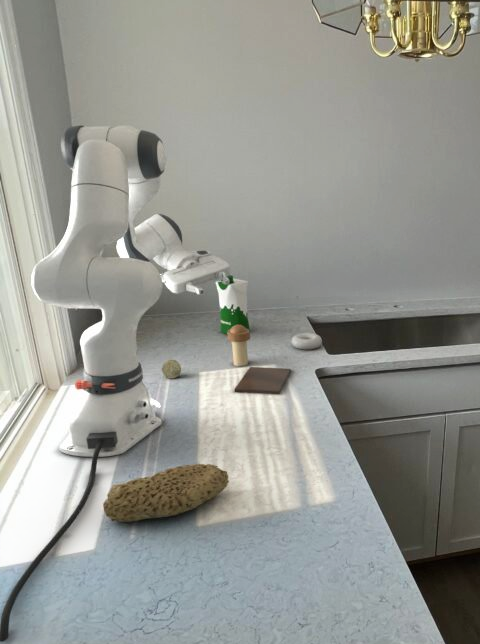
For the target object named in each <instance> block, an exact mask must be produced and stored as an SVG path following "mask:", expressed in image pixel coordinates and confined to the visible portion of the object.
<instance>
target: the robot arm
mask: <svg viewBox="0 0 480 644" xmlns="http://www.w3.org/2000/svg"><path fill="white" fill-rule="evenodd" d="M60 151H61V155H62V158H63V161H64V163H65V165H66V166H67V167H68V168H69V169H70V170H71V171H72V173H71V184H70V185H71V187H70V207H69V218H68V224H67V228H66V231H65V233H64V235H63V237H62V238H61V240H60V242H59V243H58V245H57V246H56V247H55V249H54V250H53V251H52V252H51V253H50V254H48V255H47V256H46V257H44V258H43V259H41V260H40V261H38V262H37V263H36V264H35V266H34V267H33V270H32V273H31V277H30V278H31V279H30V280H31V281H30V283H31V287H32V290H33V292H34V295H35V296H36V297H37V298H38V300H39V301H41V303H43V304H45V305H48V306H54V307H58V308H64V309H77V310H78V309H80V310H81V309H83V310H89V309H90V310H101V314H102V320H101V321H100V320H99V321H98V322H96V323H94V324H92V325H91V326H89V327H87V329H85V330H84V331H83V332H82V334H81V336H80V339H79V345H80V350H81V357H82V362H83V366H84V369H83V373H82V378H81V379H82V380H80V379H77V380H76V381H75V383H74V387H75V389H76V390H82V393H81V395H80V397H79V399H78V401H77V404H76V406H75V408H74V410H73V413H72V415H71V416H70V420H69V433H68V435H67V436H66V437H65V438H64V440H63V442H61V444H60V446H59V450H60V452H62V453H64V454H66V455H69V456H74V457H75V456H76V457H87V458H89V457H90V458H91V465H90V470H89V471H90V472H89V476H88V481H87V484H86V487H85V490H84V492H83V495H82V497H81V498H80V501H79V503H78V504H77V506H76V508H75V509H74V511H73V512H72V513H71V515H70V517H69V518H67V520H66V521H65V522H64V524H63V525H62V526H61V527H60V528H59V530H58V531H57V532H56V533H55V535H54V536H53V537H52V538H51V540H50V541H49V542H48V543H47V544H46V545H45V546H44V547H43V548H42V550H41V551H40V552H39V553H38V554H37V555H36V557H35V558H34V560H32V562H31V563H30V564H29V566H27V567H28V568H27V569H26V570H25V571H24V573H23V574H22V576H20V578H19V580H18V581H17V583H16V584H15V586H14V587H13V589H12V591H11V592H10V594H9V597H8V598H7V600H6V603H5V604H4V607H3V610H2V613H1V616H0V643H4V642H6V641H7V639H8V638H9V629H10V619H11V612H12V610H13V607H14V605H15V602H16V600H17V598H18V596H19V594H20V592H21V591H22V589H23V587H24V585H25V584H26V582H27V581H28V579H29V578H30V577H31V576H32V574H33V573H34V572H35V570H36V569H37V568H38V566H39V565H40V563H41V562H42V561H43V559H44V558H46V556H47V555H48V554H49V552H50V551H51V550H52V549H53V548H54V547H55V546H56V544H57V543H58V542H59V540H60V539H61V538H62V537H63V536H64V534H66V532H67V531H68V529H69V528H70V527H71V526H72V525H73V523H74V522H75V520H76V519H77V518H78V517H79V515H80V513H81V512H82V510H83V508H84V507H85V505H86V503H87V501H88V500H89V497H90V494H91V492H92V490H93V487H94V483H95V478H96V473H97V466H98V460H99V458H101V457H102V458H103V457H104V458H105V457H112V456H113V457H114V456H119V455H122V454H124V453H126V452H127V451H128V450H130V449H131V448H132V447H134V446H135V445H136V444H138V443H139V442H140V441H141V440H143V439H144V438H145V437H146V436H148V435H149V434H151V433H152V432H153V431H155V430H156V429H157V428H159V427H160V426H162V419H161V418H160V417H158V416H157V415H156V411H155V407H157V408H161V403H160V402H159V401H157V400H155V399H153V398H152V394H151V391H150V390H149V388H147V386H146V385H145V383H144V382H143V379H144V374H143V373H144V372H143V368H142V364H141V363H140V362H139V355H138V343H137V332H138V331H137V330H138V327H139V323H140V321H141V319H142V317H143V316H144V314H145V313H147V311H149V309H150V308H152V307H153V306H155V304H156V303H157V302H158V301H159V299H160V297H161V295H162V292H163V285H165V287H166V288H167V289H168V290H169V291H170V292H171V293H173V294H177V295H179V294H181V293H184V292H189V293H195V294H197V295H202V294H204V289H203V287H201V286H204V285H207V284H209V283H213V282H217V281H219V280H220V281H221V280H222V284H224V285H227V284H229V279H228V278H227V276H229V275H230V274H231V266H230V263H228V262H227V261H225V260H224V259H223V258H221V257H219V256H217V255H213V254H212V252H211V251H210V250H209V249H207V250H206V249H205V250H188V249H186V248H184V247H183V234H182V230H181V229H180V226H179V225H178V223H176V221H174V220H173V219H172V218H171V217H170V216H168V215H165V214H162V213H155V214H154V215H152V216H150V217H149V218H147V219H146V220H144V221H142V222H141V223H140V224H138V225H137V226H135V222H134V221H135V218H136V216H137V215H138V214H139V212H140V211H141V210H142V209H143V208H144V207H145V206H146V205H147V204H148V203H149V202H150V201H151V200H152V199H153V198H155V196H156V194H157V193H158V192H159V189H160V186H161V175H163V173H164V172H165V168H166V165H167V152H166V149H165V146H164V143H163V140H162V139H161V138H160V137H159V136H158V135H157V134H156V133H154V132H151V131H149V130H148V131H147V130H143V129H141V130H139V129H138V128H136V127H134V126H131V125H125V124H124V125H123V124H122V125H117V126H115V127H114V126H112V125H109V126H108V125H93V126H92V125H91V126H84V125H82V124H81V125H73V126H70V127H67V128H66V129H65V130H64V132H63V133H62V134H61V137H60ZM113 243H115V250H116V252H117V254H118V257H116V256H114V257H113V256H102V255H103V254H104V252H105V250H106V249H107V248H108V247H109V246H110V245H112V244H113ZM151 261H154V263H156V264H157V265H158V266H160V267H161V268H163V269H165V270H166V271H165V272H160V271H159V270H158V268H157V267H156V266H155V264H153V263H152V262H151ZM154 406H155V407H154Z"/></svg>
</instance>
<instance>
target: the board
mask: <svg viewBox="0 0 480 644" xmlns="http://www.w3.org/2000/svg"><path fill="white" fill-rule="evenodd" d="M291 372H292V369H291V368H284V367H283V368H281V367H260V366H259V367H258V366H250V367H249V368H248V369H247V371H246V372H245V374H244V375H243V377H242V378H241V379H240V381H239V382H238V384H237V385H236V386H235V388H234V393H249V394H271V395H280V393H281V391H282V389H283V387H284V385H285V384H286V381H287V379H288V378H289V376H290V373H291Z"/></svg>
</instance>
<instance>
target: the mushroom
mask: <svg viewBox="0 0 480 644" xmlns="http://www.w3.org/2000/svg"><path fill="white" fill-rule="evenodd" d="M249 329H250V328H249ZM249 329H247V328H245V327H244V326H242V325H235V326H233V327H232V328H231V329H229V330H228V331H227V334H226V335H227V340H228V341H229V342H231V350H232V363H233V366H234V367H235V366H236V367H245V366H247V365H248V364H249V361H248V360H249V358H248V343H247V341H249V340H251V329H250V330H249Z"/></svg>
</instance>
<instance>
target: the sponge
mask: <svg viewBox="0 0 480 644" xmlns="http://www.w3.org/2000/svg"><path fill="white" fill-rule="evenodd" d="M229 483H230V481H229V475H228V471H227V470H223V469H221V468H219V467H218V465H215V464H211V463H206V464H204V463H196V464H186V465H179V466H175V467H169V468H165V469H164V471H162V470H160V471H158V472H156V473H155V474H153V475H151V476H146V477H138V478H135V479H132V480H129V481H126V482H120V483H115V484H113V485H112V486H111V487H110V490H109V491H108V493H107V495H106V496H107V498H106V499H104V501H103V503H102V506H103V512H104V515H105V516H106V517H107V518H108V519H109V520H110V521H111V522H121V523H128V522H138V521H139V522H140V521H141V520H142V521H143V520H146V519H159V518H167V517H172V516H176V515H179V514H183V513H185V512H187V511H191V510H193V509H196V508H197V507H198V506H200V505H202V504H203V503H205V502H206V501H208V500H210V499H212V498H214V497H215V496H218V495H220V493H221V492H223V491H224V490H225V489H226V488H227V487H228V484H229Z"/></svg>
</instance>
